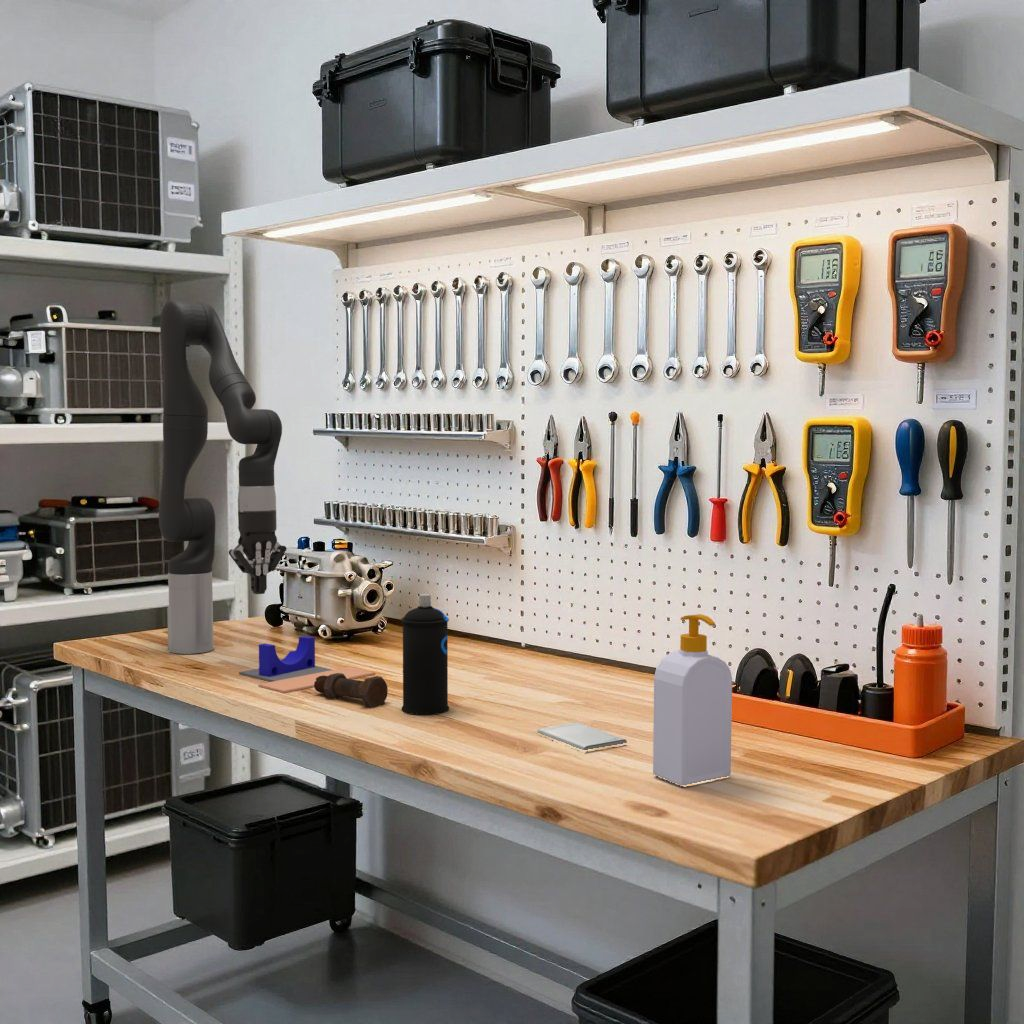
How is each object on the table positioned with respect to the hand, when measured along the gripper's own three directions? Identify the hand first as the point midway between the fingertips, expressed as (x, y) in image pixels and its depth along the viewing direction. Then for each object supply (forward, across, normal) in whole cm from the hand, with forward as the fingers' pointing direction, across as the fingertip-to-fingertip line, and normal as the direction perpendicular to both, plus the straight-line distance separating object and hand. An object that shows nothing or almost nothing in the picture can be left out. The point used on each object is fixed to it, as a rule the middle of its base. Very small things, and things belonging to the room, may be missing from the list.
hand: (258, 593), depth 233 cm
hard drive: (+17, -1, +83) cm, 84 cm away
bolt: (+16, +6, +35) cm, 39 cm away
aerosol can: (+16, +2, +51) cm, 53 cm away
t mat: (+15, 0, +13) cm, 20 cm away
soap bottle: (+16, +4, +107) cm, 108 cm away
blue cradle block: (+15, 0, +8) cm, 17 cm away
